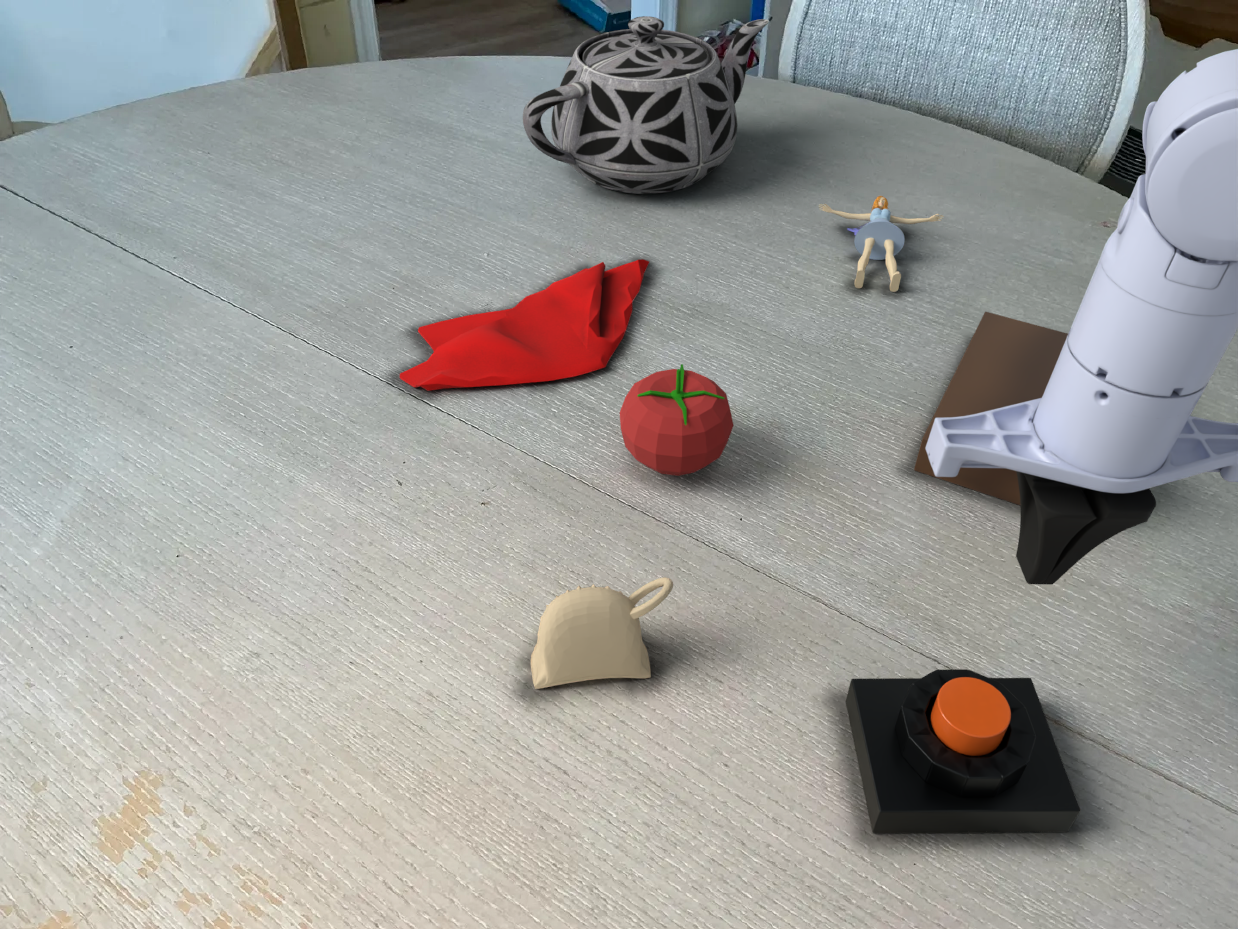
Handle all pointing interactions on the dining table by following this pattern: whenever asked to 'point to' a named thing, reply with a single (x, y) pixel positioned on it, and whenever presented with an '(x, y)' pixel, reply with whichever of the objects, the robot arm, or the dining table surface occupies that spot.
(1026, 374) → the knob panel
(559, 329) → the cloth
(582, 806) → the dining table surface
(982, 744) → the button
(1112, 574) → the dining table surface
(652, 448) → the tomato
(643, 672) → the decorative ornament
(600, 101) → the teapot
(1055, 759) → the button box
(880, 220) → the fairy figurine
